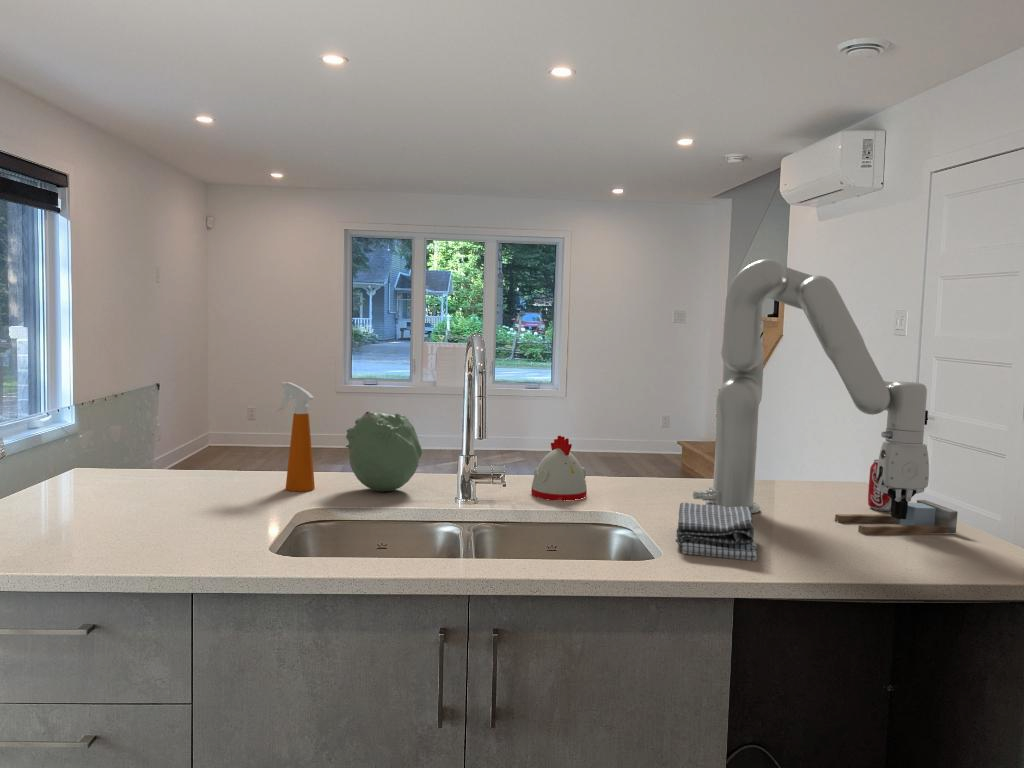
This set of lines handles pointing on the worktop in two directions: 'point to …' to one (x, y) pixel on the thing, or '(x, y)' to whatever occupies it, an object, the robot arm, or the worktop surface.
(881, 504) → the soda can
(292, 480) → the spray bottle
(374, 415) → the cabbage
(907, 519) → the light blue cube
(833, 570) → the worktop surface
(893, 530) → the track
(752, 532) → the towel
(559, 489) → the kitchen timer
